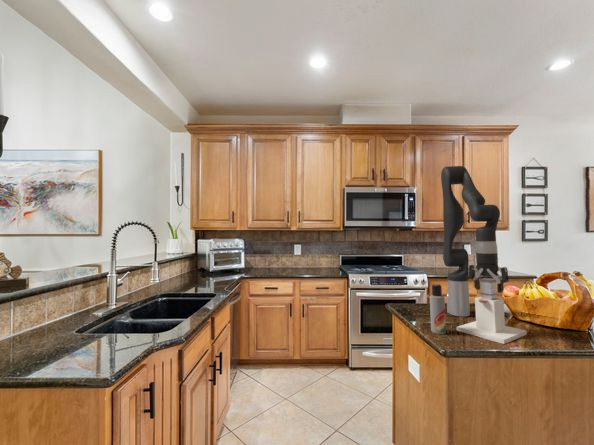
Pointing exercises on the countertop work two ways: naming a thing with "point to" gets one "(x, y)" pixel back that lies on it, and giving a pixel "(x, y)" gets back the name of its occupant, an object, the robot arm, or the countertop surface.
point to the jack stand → (491, 322)
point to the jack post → (488, 289)
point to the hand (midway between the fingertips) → (488, 290)
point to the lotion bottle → (437, 310)
